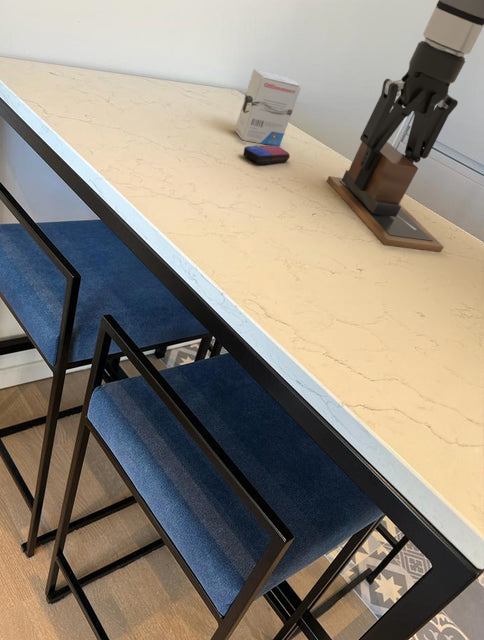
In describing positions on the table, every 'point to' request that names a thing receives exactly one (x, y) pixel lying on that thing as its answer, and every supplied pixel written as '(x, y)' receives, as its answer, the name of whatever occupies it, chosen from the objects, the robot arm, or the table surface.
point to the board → (389, 223)
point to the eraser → (266, 154)
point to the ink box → (267, 108)
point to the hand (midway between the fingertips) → (373, 189)
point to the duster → (382, 180)
